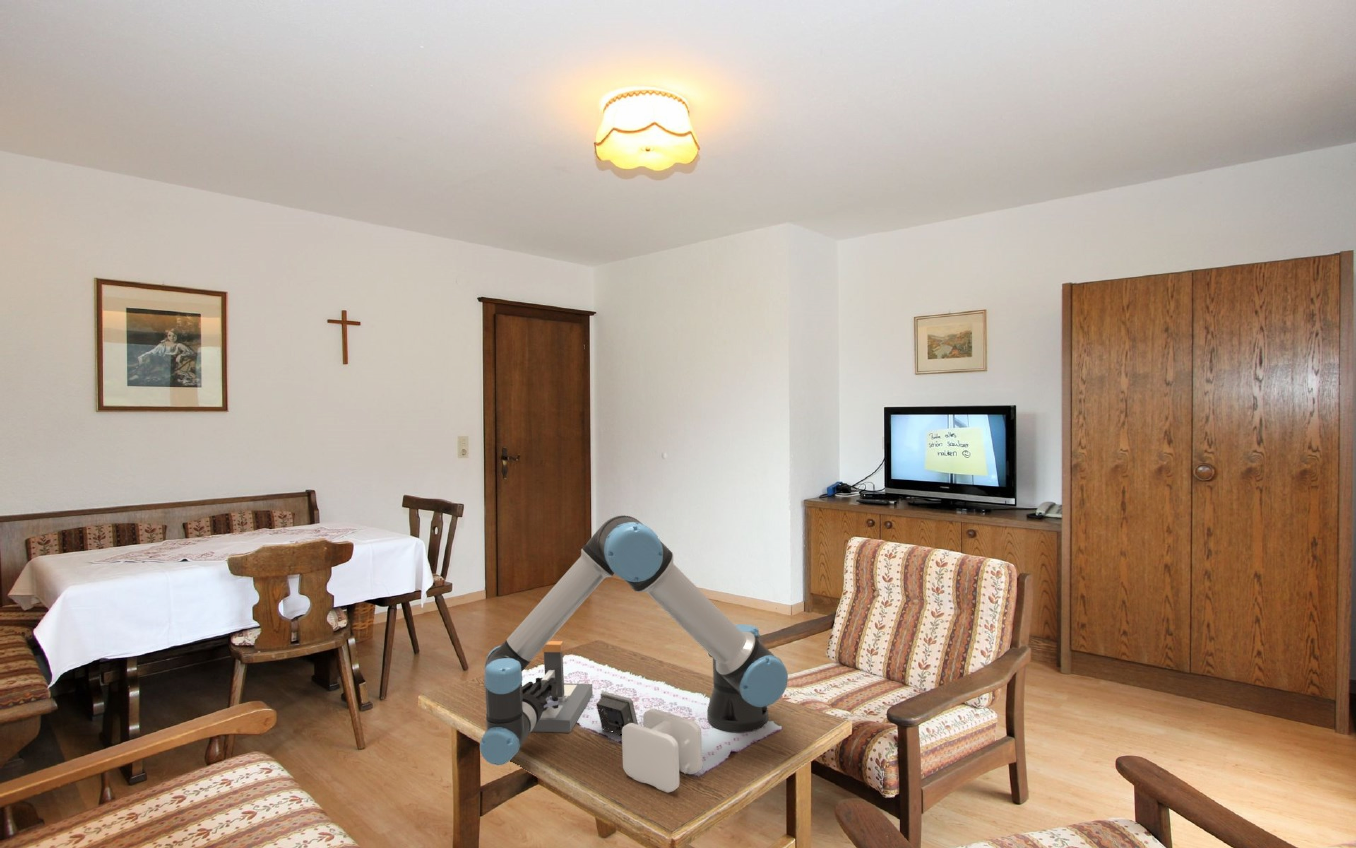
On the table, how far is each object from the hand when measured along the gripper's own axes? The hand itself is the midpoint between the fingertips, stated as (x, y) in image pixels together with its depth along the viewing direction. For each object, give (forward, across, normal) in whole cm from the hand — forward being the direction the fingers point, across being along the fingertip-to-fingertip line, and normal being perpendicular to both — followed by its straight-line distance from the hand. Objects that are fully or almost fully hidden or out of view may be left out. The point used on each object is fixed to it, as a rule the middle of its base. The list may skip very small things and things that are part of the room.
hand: (552, 675), depth 180 cm
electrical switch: (-9, -19, +10) cm, 23 cm away
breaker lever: (+1, 0, +6) cm, 6 cm away
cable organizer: (-27, -32, +10) cm, 43 cm away
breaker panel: (+1, 0, +10) cm, 10 cm away
